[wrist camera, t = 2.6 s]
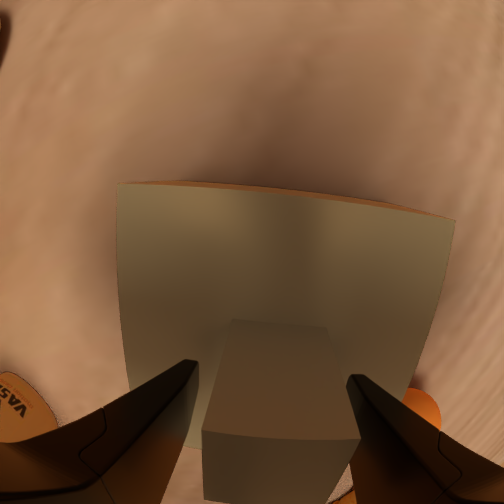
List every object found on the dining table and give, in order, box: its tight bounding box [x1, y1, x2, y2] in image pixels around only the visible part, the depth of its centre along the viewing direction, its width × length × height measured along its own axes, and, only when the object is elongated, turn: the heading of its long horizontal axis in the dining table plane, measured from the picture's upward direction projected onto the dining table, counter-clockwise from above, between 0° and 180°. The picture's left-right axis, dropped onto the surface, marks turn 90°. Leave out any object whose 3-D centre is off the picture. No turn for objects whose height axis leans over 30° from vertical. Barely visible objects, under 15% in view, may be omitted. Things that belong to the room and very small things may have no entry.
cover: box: [116, 181, 455, 504], centre depth 10 cm, size 10×10×10 cm
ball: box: [402, 388, 441, 430], centre depth 14 cm, size 5×5×5 cm
